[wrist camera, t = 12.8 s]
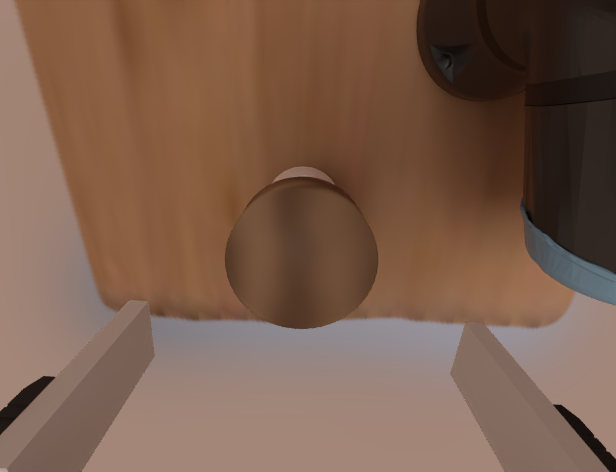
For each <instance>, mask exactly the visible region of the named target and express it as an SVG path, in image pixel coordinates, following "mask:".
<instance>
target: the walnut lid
mask: <svg viewBox="0 0 616 472" xmlns="http://www.w3.org/2000/svg"><path fill="white" fill-rule="evenodd" d="M225 266H226V272H227V277H228V279H229V282H230V285H231V287H232V289H233V291H234V293H235V294H236V296H237V297H238V298H239V300H240V301H241V302H242V303H243V304H244V305H245V307H247V308H248V309H249V310H250V311H251V312H252V313H254V314H255V315H257V316H258V317H260V318H262V319H264V320H266V321H267V322H270V323H273V324H275V325H278V326H282V327H287V328H294V329H308V328H316V327H321V326H325V325H328V324H331V323H334V322H336V321H338V320H340V319H342V318H343V317H345V316H347V315H348V314H350V313H351V312H352V311H353V310H355V309H356V308H357V307H358V306H359V305H360V304H361V303H362V301H363V300H364V299H365V298H366V296H367V295H368V293H369V291H370V290H371V288H372V285H373V283H374V281H375V277H376V274H377V268H378V251H377V245H376V242H375V238H374V235H373V233H372V231H371V229H370V227H369V225H368V224H367V222H366V220H365V219H364V217H363V215H362V213H361V212H360V210H359V208H358V207H357V205H356V204H355V202H354V201H353V200H352V199H351V197H350V196H349V195H348V194H347V193H345V192H344V191H343V190H342V189H340V188H339V187H337V186H336V185H334V184H332V183H330V182H328V181H325V180H322V179H319V178H314V177H304V176H298V177H290V178H285V179H282V180H279V181H276V182H274V183H272V184H270V185H268V186H266V187H265V188H264V189H262V190H261V191H260V192H258V193H257V194H256V195H255V196H254V197H253V199H252V200H251V201H250V202H249V204H248V205H247V207H246V208H245V210H244V211H243V213H242V215H241V216H240V218H239V219H238V221H237V223H236V224H235V226H234V228H233V229H232V231H231V234H230V236H229V239H228V242H227V246H226V253H225Z"/></svg>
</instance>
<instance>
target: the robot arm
mask: <svg viewBox="0 0 616 472" xmlns="http://www.w3.org/2000/svg"><path fill="white" fill-rule="evenodd" d="M417 40H418V46H419V51H420V55H421V58H422V61H423V63H424V65H425V67H426V69H427V71H428V73H429V74H430V76H431V77H432V78H433V80H434V81H435V82H436V83H437V84H438V85H439V86H440V87H441V88H443V89H444V90H445V91H447V92H448V93H450V94H452V95H454V96H456V97H459V98H463V99H467V100H475V101H482V100H494V99H501V98H505V97H509V96H512V95H514V94H517V93H519V92H522V91H524V90H526V99H525V135H524V186H523V197H522V200H521V208H520V209H521V214H522V216H523V219H524V232H525V245H526V248H527V251H528V253H529V255H530V257H531V258H532V259H533V260H534V261H535V262H536V263H537V264H538V265H539V266H540V267H541V269H542V270H543V271H544V272H545V273H546V274H547V275H549V276H550V277H551V278H553V279H554V280H556V281H558V282H559V283H561V284H563V285H564V286H566V287H568V288H570V289H572V290H574V291H576V292H579V293H581V294H583V295H586V296H589V297H591V298H594V299H596V300H599V301H603V302H606V303H609V304H612V305H616V0H421V2H420V6H419V11H418V19H417ZM153 357H154V347H153V338H152V328H151V319H150V310H149V301H135V300H129V301H128V302H127V303H126V304H125V305H124V306H123V307H122V308H121V310H120V311H119V312H118V313H117V314H116V315H115V316H114V317H113V318H112V319H111V320H110V321H109V322H108V323H107V324H106V325H105V326H104V327H103V328H102V329H101V330H100V332H99V333H98V334H97V335H96V336H95V337H94V338H93V339H92V340H91V341H90V342H89V343H88V344H87V345H86V346H85V347H84V349H82V350H81V352H79V354H78V355H77V356H76V357H75V358H74V359H73V360H72V361H71V362H70V363H69V364H68V365H67V366H66V367H65V368H64V369H63V370H62V371H61V372H60V373H59V374H58V375H57V376H56V377H50V376H43V377H42V378H40V379H38V380H37V381H35V382H34V383H32V384H30V385H29V386H27V387H26V388H24V389H23V390H22V391H21V392H20V393H19V394H18V395H17V396H16V397H15V398H14V399H12V400H11V401H10V403H8V406H7V407H4V408H3V409H2V410H1V411H0V472H82V470H83V468H84V467H85V465H86V463H87V462H88V461H89V459H90V457H91V456H92V454H93V453H94V451H95V449H96V448H97V446H98V445H99V443H100V442H101V440H102V438H103V437H104V435H105V434H106V432H107V430H108V429H109V427H110V426H111V424H112V422H113V421H114V419H115V418H116V416H117V415H118V413H119V411H120V410H121V408H122V407H123V405H124V403H125V402H126V400H127V399H128V397H129V396H130V394H131V392H132V391H133V389H134V388H135V386H136V384H137V383H138V381H139V380H140V378H141V377H142V375H143V373H144V372H145V370H146V369H147V367H148V365H149V364H150V362H151V361H152V359H153ZM451 376H452V377H453V379H454V381H455V383H456V384H457V387H458V388H459V390H460V392H461V394H462V395H463V397H464V399H465V401H466V403H467V405H468V406H469V408H470V410H471V412H472V413H473V415H474V417H475V419H476V421H477V423H478V424H479V426H480V428H481V430H482V431H483V433H484V435H485V437H486V439H487V440H488V442H489V444H490V446H491V448H492V450H493V451H494V453H495V455H496V457H497V459H498V460H499V462H500V464H501V466H502V468H503V469H504V471H505V472H616V459H615V458H614V457H613V456H612V455H611V453H610V452H607V451H606V448H605V447H604V446H603V445H602V443H601V442H600V441H599V440H598V439H597V438H594V435H593V433H592V432H591V431H590V430H589V429H588V428H587V427H586V426H585V424H584V423H583V422H582V421H581V420H580V419H579V418H578V417H576V416H575V415H574V414H572V413H571V412H570V411H568V410H567V409H566V408H565V407H563V406H562V405H553V404H552V403H551V402H550V401H549V400H548V399H547V397H546V396H545V395H544V394H543V393H542V391H541V390H540V389H539V388H538V387H537V386H536V385H535V383H534V382H533V381H532V380H531V379H530V377H529V376H528V375H527V374H526V373H525V371H524V370H523V369H522V368H521V367H520V366H519V364H518V363H517V362H516V361H515V360H514V358H513V357H512V356H511V355H510V354H509V353H508V351H507V350H506V349H505V348H504V347H503V346H502V344H501V343H500V342H499V341H498V340H497V338H496V337H495V336H494V335H493V334H492V333H491V331H490V330H489V329H488V328H487V327H486V325H485V324H484V323H472V322H466V323H465V326H464V330H463V333H462V336H461V340H460V343H459V347H458V350H457V353H456V357H455V360H454V363H453V367H452V370H451Z"/></svg>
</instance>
